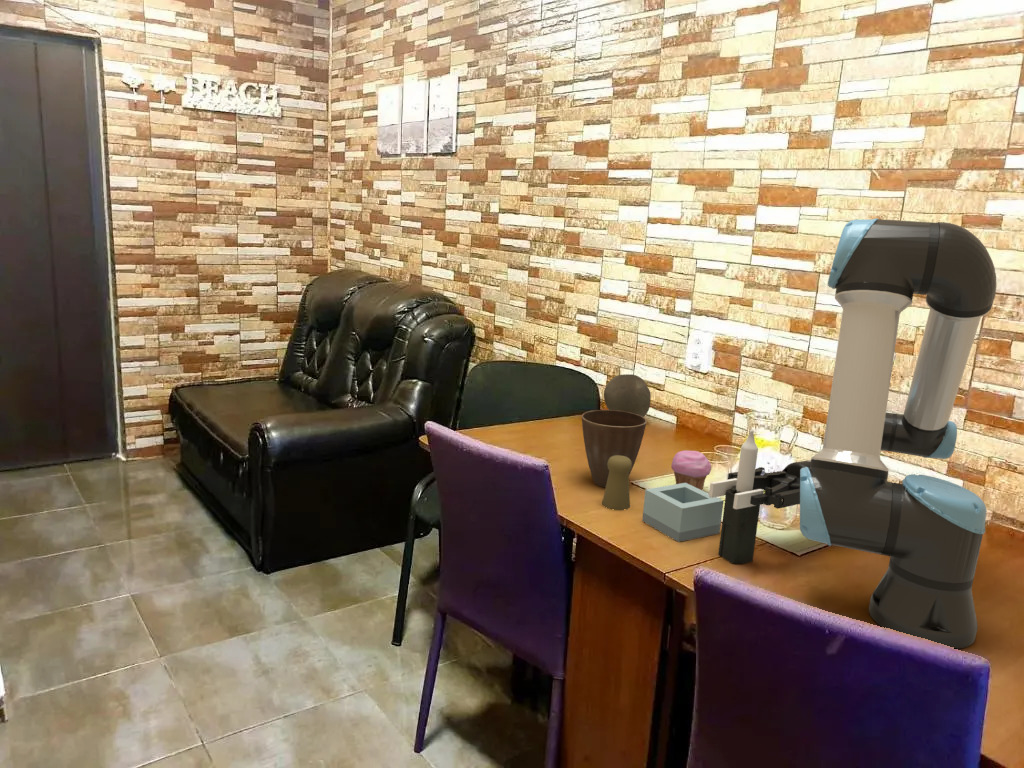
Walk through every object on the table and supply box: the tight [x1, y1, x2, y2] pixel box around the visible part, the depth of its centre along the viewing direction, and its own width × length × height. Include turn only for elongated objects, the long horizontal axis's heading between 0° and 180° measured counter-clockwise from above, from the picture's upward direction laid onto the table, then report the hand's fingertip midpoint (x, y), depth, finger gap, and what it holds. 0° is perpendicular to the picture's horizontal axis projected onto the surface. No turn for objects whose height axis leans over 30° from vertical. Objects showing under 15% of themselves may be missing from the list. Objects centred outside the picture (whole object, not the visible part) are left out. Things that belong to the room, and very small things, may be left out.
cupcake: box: [671, 450, 712, 491], centre depth 172 cm, size 9×9×10 cm
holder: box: [641, 483, 725, 543], centre depth 151 cm, size 11×11×7 cm
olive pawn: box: [601, 455, 633, 511], centre depth 161 cm, size 6×6×11 cm
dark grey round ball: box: [603, 373, 652, 418], centre depth 230 cm, size 14×14×15 cm
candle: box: [717, 428, 761, 565], centre depth 137 cm, size 5×5×25 cm
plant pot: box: [581, 409, 648, 489], centre depth 174 cm, size 15×15×16 cm
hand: (723, 495), depth 134 cm, fingers closed on candle, 5 cm apart
